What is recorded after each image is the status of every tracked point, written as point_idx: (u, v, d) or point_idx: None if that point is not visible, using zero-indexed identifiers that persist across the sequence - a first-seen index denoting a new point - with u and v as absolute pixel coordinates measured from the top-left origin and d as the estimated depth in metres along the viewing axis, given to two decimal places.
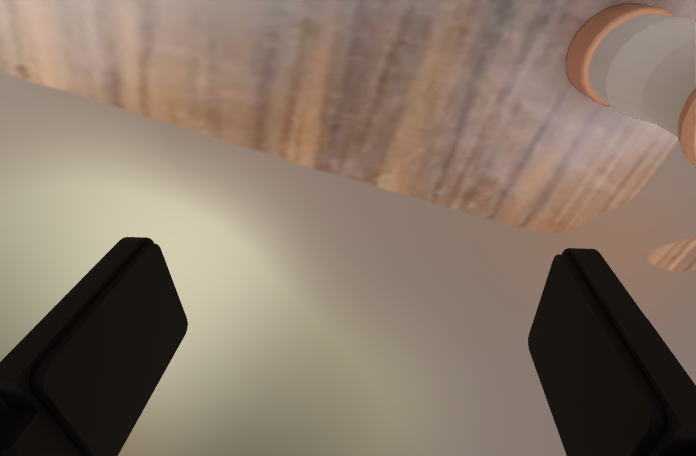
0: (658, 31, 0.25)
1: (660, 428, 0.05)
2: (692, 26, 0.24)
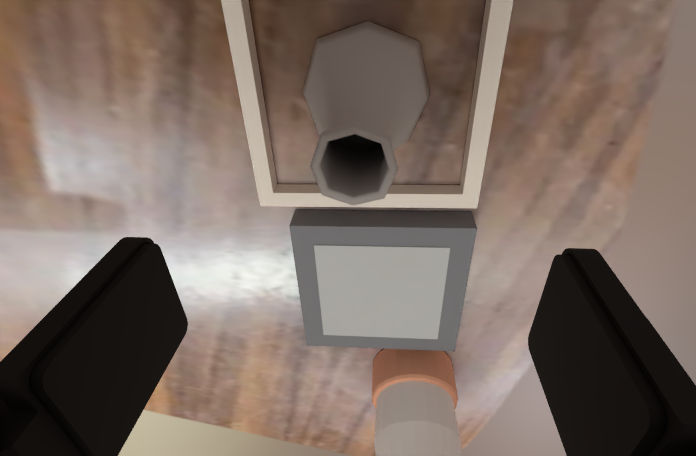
0: (397, 439, 0.28)
1: (660, 428, 0.05)
2: (420, 448, 0.27)
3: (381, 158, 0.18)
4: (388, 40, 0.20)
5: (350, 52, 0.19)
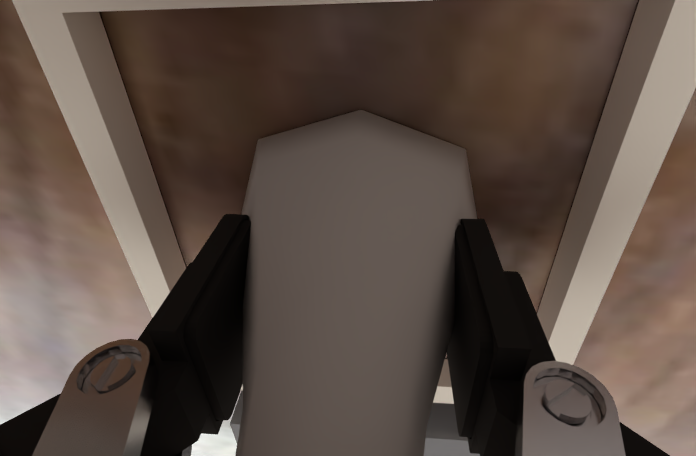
0: None
1: (489, 354, 0.06)
2: None
3: None
4: (404, 155, 0.09)
5: (318, 192, 0.08)
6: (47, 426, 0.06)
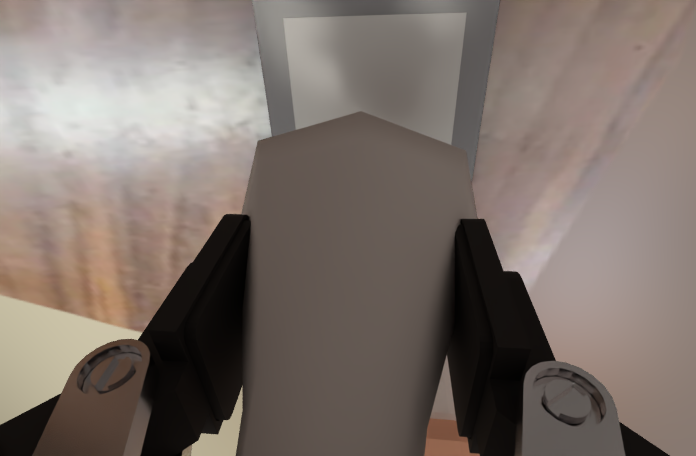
0: None
1: (488, 354, 0.06)
2: None
3: None
4: (404, 156, 0.09)
5: (318, 195, 0.08)
6: (47, 426, 0.06)
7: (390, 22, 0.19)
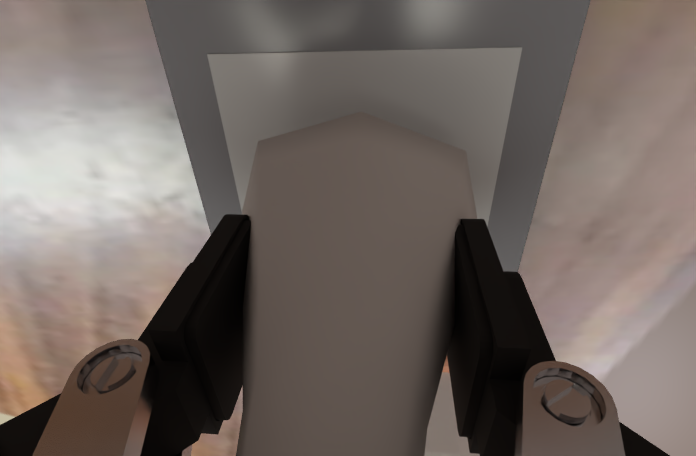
0: None
1: (489, 354, 0.06)
2: None
3: None
4: (404, 157, 0.09)
5: (318, 195, 0.08)
6: (46, 426, 0.06)
7: (389, 63, 0.11)
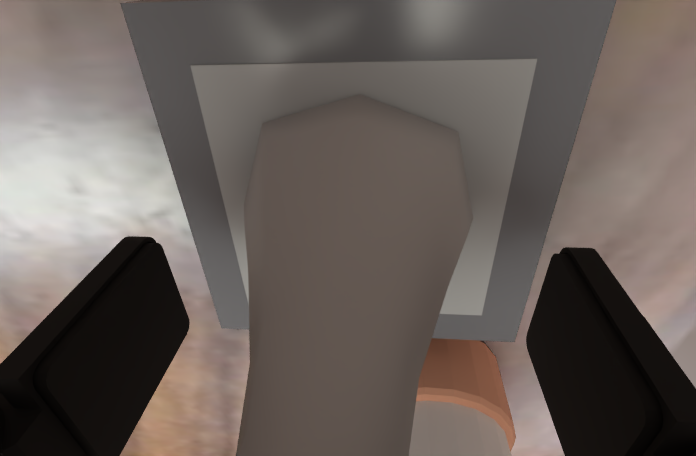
0: None
1: (656, 425, 0.05)
2: None
3: None
4: (399, 136, 0.10)
5: (319, 169, 0.09)
6: None
7: (389, 75, 0.10)
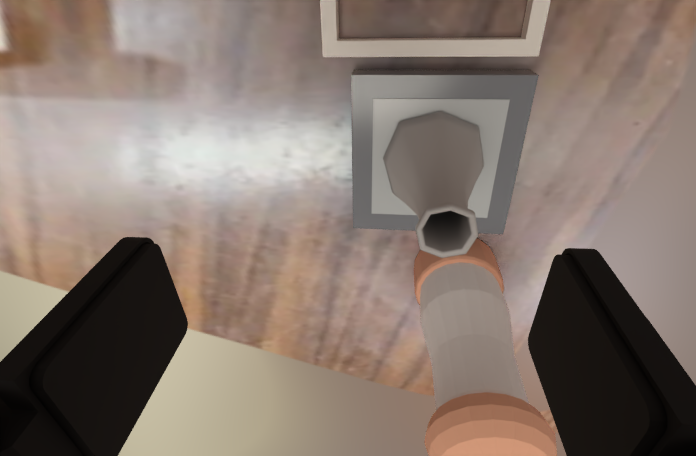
0: (449, 305, 0.28)
1: (660, 428, 0.05)
2: (473, 309, 0.27)
3: (455, 219, 0.24)
4: (457, 127, 0.26)
5: (429, 137, 0.25)
6: None
7: (452, 104, 0.26)
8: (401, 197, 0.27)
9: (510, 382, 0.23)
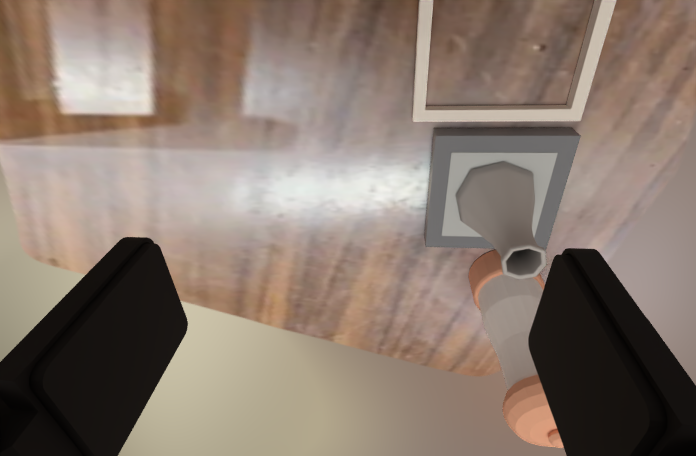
0: (509, 308, 0.36)
1: (660, 428, 0.05)
2: (529, 311, 0.36)
3: None
4: (517, 175, 0.34)
5: (499, 185, 0.33)
6: None
7: (513, 156, 0.34)
8: (473, 227, 0.35)
9: None
